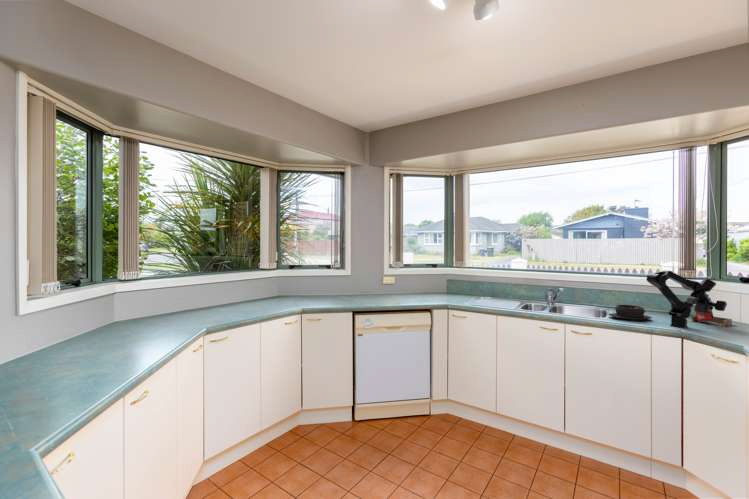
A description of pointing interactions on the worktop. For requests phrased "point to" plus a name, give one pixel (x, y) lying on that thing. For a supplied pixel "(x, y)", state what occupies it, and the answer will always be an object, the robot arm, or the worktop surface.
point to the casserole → (629, 312)
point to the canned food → (704, 316)
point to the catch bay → (717, 320)
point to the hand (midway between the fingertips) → (709, 312)
